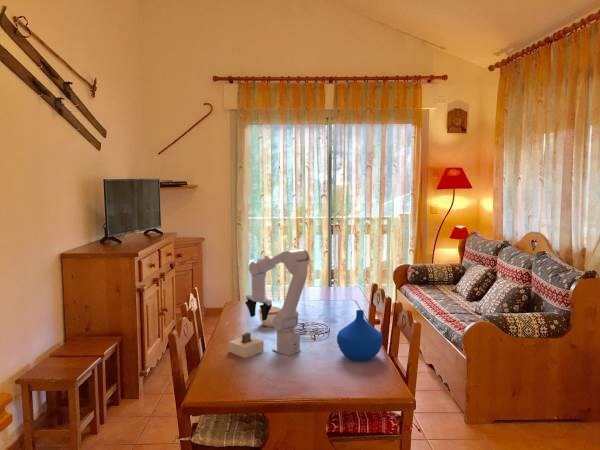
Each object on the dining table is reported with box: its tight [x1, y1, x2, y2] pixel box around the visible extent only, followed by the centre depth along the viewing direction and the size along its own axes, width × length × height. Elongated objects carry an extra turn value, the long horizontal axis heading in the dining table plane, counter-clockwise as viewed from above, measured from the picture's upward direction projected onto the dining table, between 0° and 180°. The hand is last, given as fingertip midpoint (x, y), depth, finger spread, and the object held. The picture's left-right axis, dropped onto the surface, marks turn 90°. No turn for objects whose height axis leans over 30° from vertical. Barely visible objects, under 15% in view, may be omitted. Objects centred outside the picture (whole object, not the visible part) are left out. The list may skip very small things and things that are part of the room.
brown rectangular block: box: [241, 332, 252, 344], centre depth 197 cm, size 2×4×7 cm, turn 155°
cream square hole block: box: [228, 336, 264, 359], centre depth 197 cm, size 10×10×4 cm
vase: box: [336, 309, 384, 363], centre depth 191 cm, size 18×18×19 cm
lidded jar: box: [258, 305, 281, 328], centre depth 233 cm, size 11×11×9 cm
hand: (258, 318), depth 211 cm, fingers open, 7 cm apart
